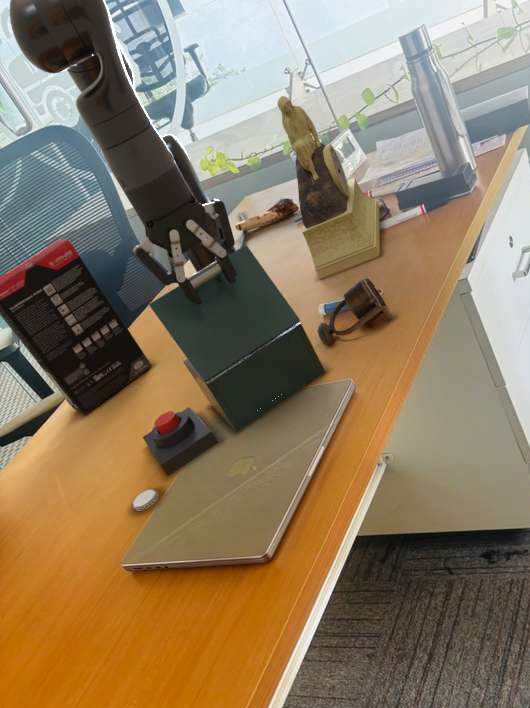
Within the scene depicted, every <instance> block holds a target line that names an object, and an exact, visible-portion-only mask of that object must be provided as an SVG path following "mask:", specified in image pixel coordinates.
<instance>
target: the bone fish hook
mask: <svg viewBox="0 0 530 708" xmlns="http://www.w3.org/2000/svg"><path fill="white" fill-rule="evenodd" d="M298 211H300V206H299V205H298V204H297V203H295V202H294V201H293V198H280V199H279V200H278V201H277V202H276V203H274V204H273V205H272V206H271V207H270V208H268V209H267V210H266V211H265V212H263V213H260V214H258V215H255V216H253V217H250V218H246V219H245V221H243V222H242V221H238V222H237V223H236V224H234V228H235V230H237V231H243V230H246V231H247V232H248V231H252V230H255V229H259V228H263V227H266V226H268V225H270V224H273V223H277V222H279V221H282V220H283V219H286V218H289V217H291V216H292V215H294V214H295V213H297V212H298Z"/></svg>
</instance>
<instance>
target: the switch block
mask: <svg viewBox="0 0 530 708" xmlns="http://www.w3.org/2000/svg"><path fill="white" fill-rule="evenodd" d="M175 414H176V415H177V416H178V418H179V419H180V421H181V422H180V424H179V425H178V426H177V427H176V428H175V429H173V430H172V431H170V432H168V433H165V434H160V432H159V431H158V429H157V428H156V427H155V426H154V427H152V430H150V431H149V432H148V433H147V434H145V435H143V436H142V439H143V441H144V442H145V444H146V445H147V447H148V448H149V450H150V451H151V453H152V455H153V456H154V458H155V459H156V461H157V463H158V465H159V466H160V468H162V470H163V471H164V473H166V475H167V476H170V475H172V474H173V473H175V472H176V471H177V470H179V469H181V468H182V467H183V466H185V465H186V464H188V463H190V462H191V461H192V460H194V459H196V458H197V457H199V456H200V455H202V454H203V453H205V452H206V451H208V450H209V449H211V448H212V447H214V446H215V445H217V444H218V443H219V441H218V439H217V437H216V436H215V435H214V433H213V432H212V429H210V428H209V427H208V426H207V424H206V423H205V422H204V421H203V419H201V418H200V416H199V415H198V414H197V413H196V411H194V409H192V407H191V406H188V407H186V408H185V409H183V410H182V411H178V412H175Z"/></svg>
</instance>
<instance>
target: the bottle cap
mask: <svg viewBox="0 0 530 708" xmlns="http://www.w3.org/2000/svg"><path fill="white" fill-rule="evenodd" d="M159 495H160V494H159V492H158V491H157V490H156V489H155V488H148V489H145V490H144V491H142V492H140V493H139V494H138V495H136V497H134V499H133V500H132V503H131V507H132V508H133V509H134V511H136V512H141V511H142V512H143V511H146V510H147V509H149V508H150V507H152V506H153V505H154V504H155V503H156V502H157V501H158V499H159Z"/></svg>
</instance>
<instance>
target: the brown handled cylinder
mask: <svg viewBox="0 0 530 708" xmlns="http://www.w3.org/2000/svg"><path fill="white" fill-rule="evenodd" d="M375 286H376V285H375V284H374V283H373V282H372V281H371V280H370V278H366V277H363V278H361V279H360V280H359V281H358V282H356V283H355V284H354V285H353V286H352V287H350V288H349V289H348V290H347V291H346V292H344V293H343V300H341V301H340V302H339V303H338V304H337V305H336V307H335V308H334V310H333V311H332V313H331V314H330V316H329V317H330V318H329V324H327V323H326V322H323V321H322V322H320V323H319V325H318V328H317V334H318V338H319V339H320V340H321V342H323V343H324V344H327V345H330V344H332V343H333V342H334V337H333V334H335V335H336V336H340V337H344V336H347V335H351V334H353V333H354V332H356V331H357V330H359V329H360V328H361V327H362V326H366V327H368V326H369V325H370V324H372V323H373V322H374V321H376V320H377V319H379V317H381V316H382V315H383V314H384V315H385V316H386V318H388V319H392V314H391V312H390V310H389V307H388V305H387V303H386V302H385V299H384V298H383V296H382V295H381V294H380V292H379V291H378V289H377V288H376V287H375ZM346 305H347V307H348V308H349V310H350V311H351V313H352V314H353V315H354V316H355V317H356V319H357V320H358V321H356V322H355V323H354V324H353V325H351V326H350V327H348V328H346V329H344V330H337V329H336V326H335V322H336V318H337V316H338V315H339V313H340V312H341V310H342V309H343V308H344V307H345V306H346Z"/></svg>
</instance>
